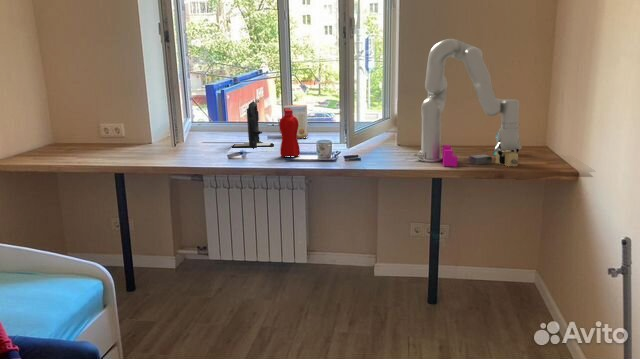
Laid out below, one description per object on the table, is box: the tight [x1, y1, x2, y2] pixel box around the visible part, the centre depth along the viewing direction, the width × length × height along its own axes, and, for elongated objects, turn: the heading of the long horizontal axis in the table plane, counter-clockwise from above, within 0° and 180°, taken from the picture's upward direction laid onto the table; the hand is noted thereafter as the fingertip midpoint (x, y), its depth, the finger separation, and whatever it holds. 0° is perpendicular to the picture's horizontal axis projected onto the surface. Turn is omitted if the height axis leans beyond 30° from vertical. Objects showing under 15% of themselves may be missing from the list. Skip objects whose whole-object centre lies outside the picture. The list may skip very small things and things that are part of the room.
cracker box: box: [283, 104, 309, 138], centre depth 339 cm, size 14×6×21 cm, turn 82°
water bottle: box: [279, 110, 301, 158], centre depth 286 cm, size 9×11×25 cm
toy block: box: [441, 144, 459, 168], centre depth 263 cm, size 15×6×8 cm, turn 170°
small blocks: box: [468, 154, 493, 166], centre depth 265 cm, size 20×6×3 cm, turn 107°
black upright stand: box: [231, 98, 275, 152], centre depth 314 cm, size 32×25×28 cm
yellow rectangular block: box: [495, 150, 519, 168], centre depth 258 cm, size 5×12×6 cm, turn 17°
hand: (507, 162), depth 259 cm, fingers closed on yellow rectangular block, 5 cm apart
